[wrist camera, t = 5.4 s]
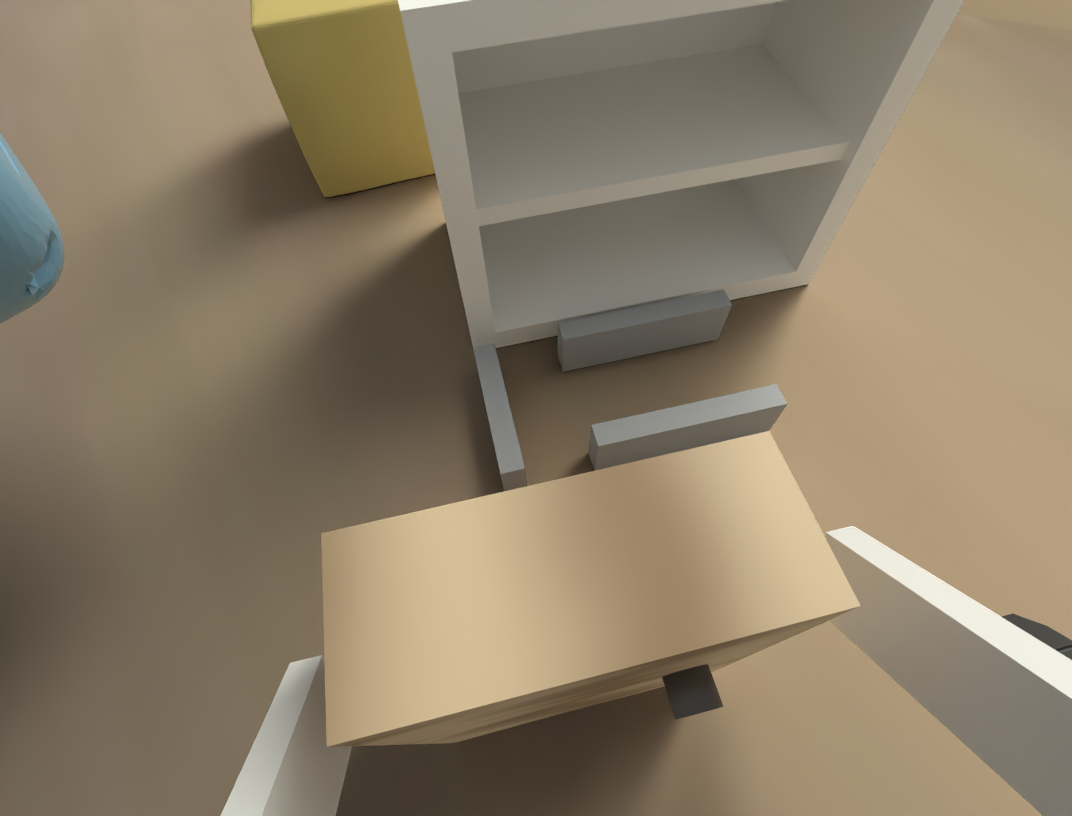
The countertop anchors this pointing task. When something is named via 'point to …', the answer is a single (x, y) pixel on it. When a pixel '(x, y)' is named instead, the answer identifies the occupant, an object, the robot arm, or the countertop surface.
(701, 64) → the cabinet
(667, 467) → the door
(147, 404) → the countertop surface
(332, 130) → the cheese
